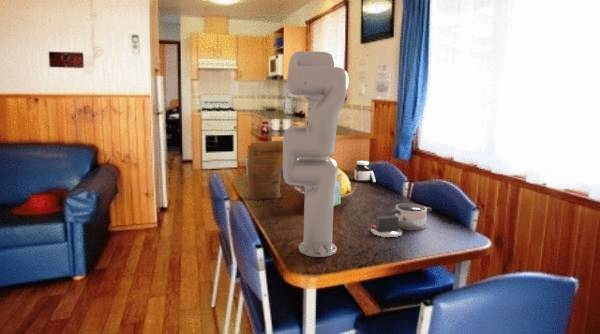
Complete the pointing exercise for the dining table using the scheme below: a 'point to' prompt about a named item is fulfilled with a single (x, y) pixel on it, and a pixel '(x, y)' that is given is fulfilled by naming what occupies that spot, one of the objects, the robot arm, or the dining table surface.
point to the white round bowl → (386, 227)
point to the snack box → (336, 192)
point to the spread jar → (363, 172)
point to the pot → (411, 216)
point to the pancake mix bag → (264, 169)
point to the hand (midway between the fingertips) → (315, 155)
